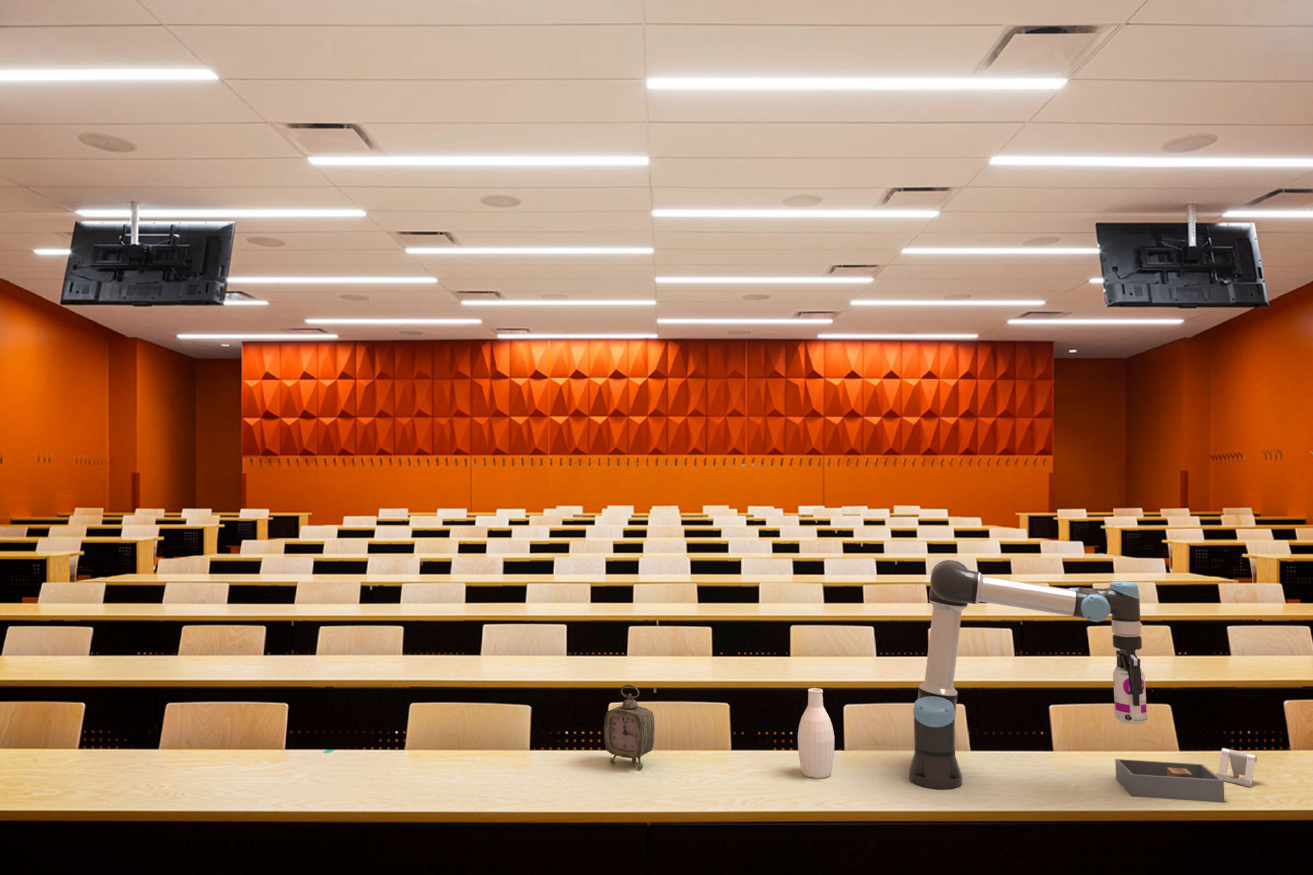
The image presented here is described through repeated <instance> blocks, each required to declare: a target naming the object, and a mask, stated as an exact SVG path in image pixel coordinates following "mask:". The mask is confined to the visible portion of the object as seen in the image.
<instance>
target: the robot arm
mask: <svg viewBox="0 0 1313 875" xmlns="http://www.w3.org/2000/svg"><path fill="white" fill-rule="evenodd" d="M929 581H930V582H929V583H930V585H929V586H930V587H929V596H928V598H929V599H928V601H929V603H930V604H931V605H932V614H931V622H930V630H929V632H930V633H929V641H928V649H927V657H926V658H927V659H926V667H925V676H924V681H923V682H922V683H920V684H919V686H918V692H917V693H918V694H917V699H916V700H915V702H914V704H913V711H912V714H913V724H914V726H913V728H914V729H913V731H914V732H913V734H914V736H913V737H914V739H913V740H914V754H913V757H912V759H911V763H910V767H909V768H908V779H909V780H910V781H911V782H912V783H913V784H916V785H918V786H922V787H925V788H930V789H938V790H948V789H956V788H959V787H961V786H962V785H963V775H962V771H961V769H960V766H959V763H958V760H957V757H956V756H957V755H956V728H955V726H956V724H955V723H956V716H957V715H956V714H957V712H956V711H957V702H958V693H959V692H958V690H956V688H955V687H954V681H955V672H956V665H957V664H956V663H957V657H958V647H959V646H958V645H959V638H960V629H961V620H962V612H963V610H965V609H966V608H967V607H968V604H972V605H978V604H979V603H981V602H982V603H988V604H994V605H1000V606H1007V607H1013V608H1020V609H1025V610H1026V609H1027V610H1032V611H1036V612H1037V611H1038V612H1044V613H1050V614H1057V615H1063V616H1070V617H1075V618H1081V619H1086V620H1088V621H1090V622H1095V623H1099V622H1103V621H1105V620H1107V618H1108V617H1109V616H1110V615H1111V632H1112V634H1113V635H1112V647H1113V648H1115V649H1116V651H1115V654H1116V667H1121V668H1124V669H1125V670H1126V671H1128V676H1129V687H1130V692H1128V694H1129V701H1130V716H1131V717H1141V701H1140V695H1141V694H1143V688H1142V679H1141V670H1140V669H1141V659H1140V658H1138V656H1137V655H1136V650H1138V651H1139V650H1141V649H1142V648H1143V642H1142V637H1141V633H1142V627H1143V623H1141V606H1140V605H1141V603H1140V602H1141V601H1140V599H1141V598H1140V591H1139V585H1138V584H1137V583H1135V582H1133V581H1123V580H1122V581H1120V580H1118V581H1111V582H1110V583H1109V587H1107V588H1098V587H1097V588H1093V587H1092V588H1089V587H1087V588H1086V587H1070V588H1062V587H1057V586H1056V587H1055V586H1050V585H1048V586H1047V585H1043V584H1036V583H1030V582H1024V581H1016V580H1011V579H1002V578H997V577H992V576H985V575H983V574H982V573H981V572H980V571H974V570H970V569H969V568H968V567H966V566H965V565H964V564H963V563H961V562H960V561H957V560H953V559H947V560H941V561H940V562H938V563H937V564H936V565H934V567H933V568H932V571H931V574H930V580H929Z"/></svg>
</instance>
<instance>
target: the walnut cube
mask: <svg viewBox="0 0 1313 875" xmlns="http://www.w3.org/2000/svg"><path fill="white" fill-rule="evenodd" d="M1167 776H1168V777H1184V778H1193V777H1192V774H1191V773H1190V772H1189V771H1188V770H1187V769H1183V768H1167Z"/></svg>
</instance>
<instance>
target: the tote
mask: <svg viewBox="0 0 1313 875" xmlns="http://www.w3.org/2000/svg"><path fill="white" fill-rule="evenodd" d="M1114 760H1115V761H1114V762H1115V779H1116V780H1117V781H1118V782H1119V784H1120V785H1121V786H1122V787H1123V789H1125V790H1126V792H1128V793H1129V795H1130V796H1131V797H1144V798H1159V799H1174V800H1175V799H1176V800H1185V801H1187V800H1189V801H1203V802H1217V803H1218V802H1220V803H1225V781H1223V780H1222V779H1221V778H1219V777H1218V776H1217V775H1216V773H1215V772H1214V771H1212V770H1211V769H1209V768H1208V766H1207V767H1206V765H1204V764H1202V763H1192V762H1191V763H1189V762H1187V763H1186V762H1173V761H1170V762H1169V761H1157V760H1156V761H1154V760H1140V759H1139V760H1136V759H1123V758H1122V759H1120V758H1115V759H1114ZM1167 768H1183V769H1187V770H1188V771H1189V772H1190V773H1191V774H1192V777H1193V778H1184V777H1168V776H1167Z"/></svg>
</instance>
